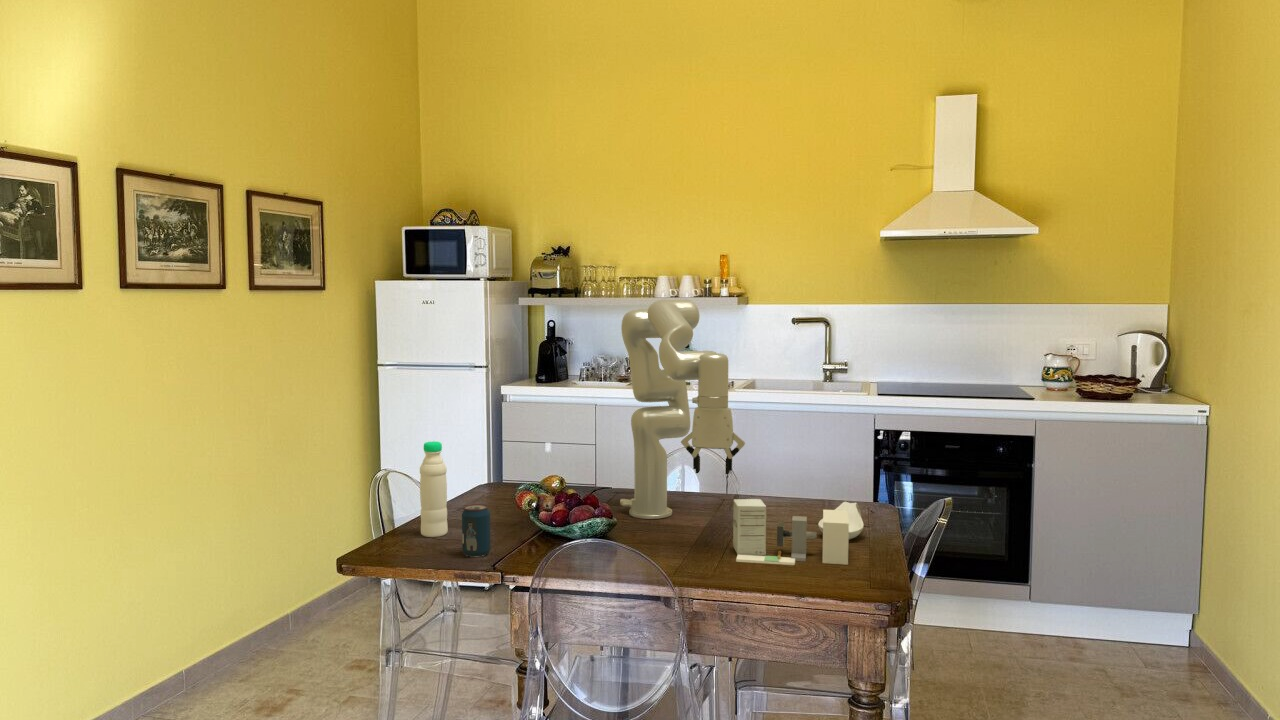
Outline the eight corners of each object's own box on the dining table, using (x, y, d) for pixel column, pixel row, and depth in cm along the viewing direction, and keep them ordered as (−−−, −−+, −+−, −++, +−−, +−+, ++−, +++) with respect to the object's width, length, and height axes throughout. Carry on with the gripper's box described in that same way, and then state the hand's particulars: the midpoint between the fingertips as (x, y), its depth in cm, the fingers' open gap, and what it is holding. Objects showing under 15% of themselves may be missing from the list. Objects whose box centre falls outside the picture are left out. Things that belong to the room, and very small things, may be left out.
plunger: (775, 557, 221) (776, 531, 220) (778, 545, 231) (778, 520, 231) (815, 559, 219) (816, 533, 218) (816, 547, 229) (816, 522, 229)
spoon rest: (859, 546, 235) (859, 518, 234) (813, 541, 240) (814, 514, 239) (873, 524, 257) (873, 499, 256) (831, 520, 261) (831, 495, 261)
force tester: (736, 561, 221) (736, 521, 220) (742, 543, 236) (742, 505, 236) (848, 568, 216) (849, 526, 215) (846, 549, 231) (847, 510, 230)
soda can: (487, 548, 232) (487, 502, 231) (493, 556, 225) (492, 508, 224) (460, 551, 229) (459, 504, 228) (464, 559, 223) (464, 511, 222)
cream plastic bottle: (415, 534, 245) (413, 442, 243) (437, 529, 250) (436, 439, 248) (430, 539, 240) (429, 445, 238) (452, 534, 246) (451, 442, 244)
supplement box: (732, 547, 233) (732, 498, 232) (761, 547, 233) (761, 498, 232) (736, 555, 226) (737, 505, 225) (766, 555, 226) (767, 505, 225)
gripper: (676, 403, 227) (676, 474, 228) (746, 405, 223) (745, 477, 225) (681, 400, 234) (680, 468, 235) (749, 401, 230) (748, 471, 232)
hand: (712, 472), depth 230 cm, fingers open, 7 cm apart
